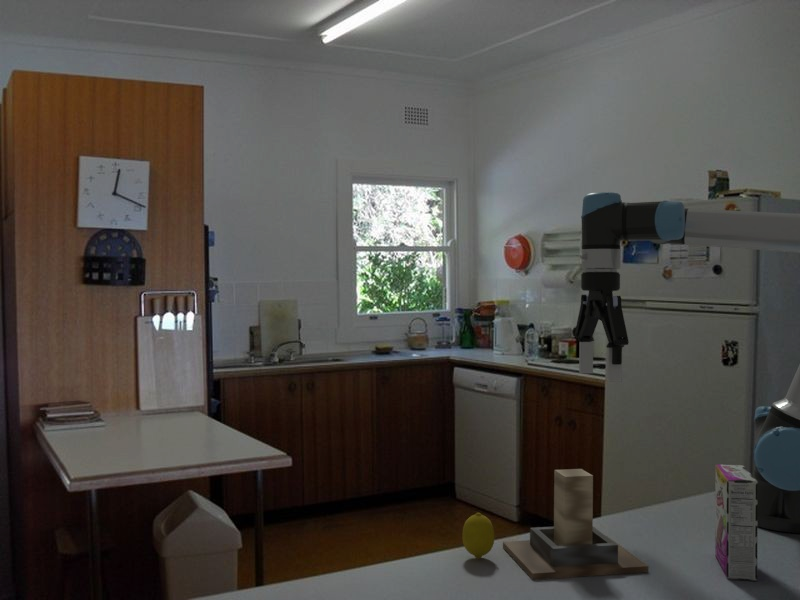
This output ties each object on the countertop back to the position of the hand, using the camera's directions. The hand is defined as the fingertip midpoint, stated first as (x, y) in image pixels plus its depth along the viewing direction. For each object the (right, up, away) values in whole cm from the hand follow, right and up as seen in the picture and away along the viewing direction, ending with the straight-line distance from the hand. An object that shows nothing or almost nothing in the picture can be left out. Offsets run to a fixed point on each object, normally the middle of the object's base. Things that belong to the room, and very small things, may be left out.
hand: (599, 377), depth 163 cm
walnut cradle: (-10, -29, -22) cm, 38 cm away
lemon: (-26, -30, -22) cm, 45 cm away
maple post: (-10, -28, -22) cm, 37 cm away
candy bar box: (+16, -30, -27) cm, 43 cm away
